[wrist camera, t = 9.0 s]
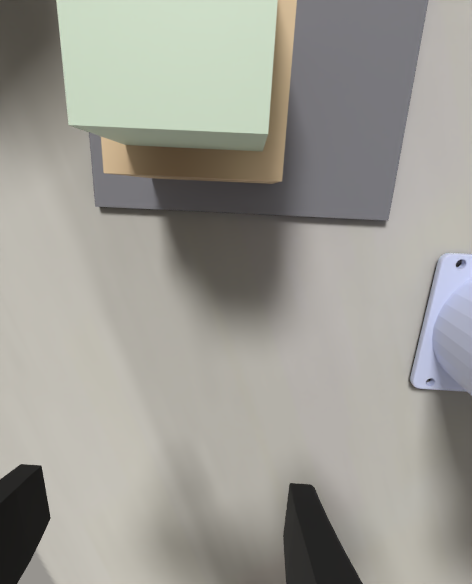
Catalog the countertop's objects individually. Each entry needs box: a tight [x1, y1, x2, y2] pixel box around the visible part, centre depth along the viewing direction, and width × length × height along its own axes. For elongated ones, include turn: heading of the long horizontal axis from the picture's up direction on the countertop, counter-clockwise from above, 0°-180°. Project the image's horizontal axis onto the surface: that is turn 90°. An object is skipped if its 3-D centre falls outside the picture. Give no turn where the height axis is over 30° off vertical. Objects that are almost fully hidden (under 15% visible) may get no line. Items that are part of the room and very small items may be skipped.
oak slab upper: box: [101, 0, 297, 183], centre depth 11 cm, size 6×6×3 cm
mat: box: [89, 0, 428, 220], centre depth 14 cm, size 15×17×1 cm
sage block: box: [56, 0, 278, 151], centre depth 8 cm, size 4×4×4 cm
